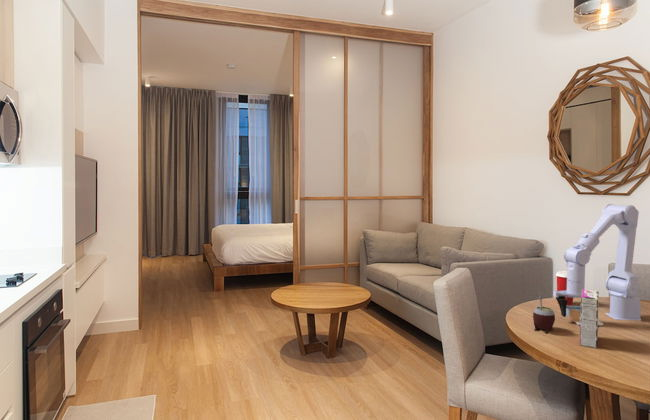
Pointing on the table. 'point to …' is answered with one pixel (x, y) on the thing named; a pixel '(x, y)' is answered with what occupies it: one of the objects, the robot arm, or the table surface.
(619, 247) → the robot arm
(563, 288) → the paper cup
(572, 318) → the lid
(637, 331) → the table surface
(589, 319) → the candy bar box
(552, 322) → the mate gourd
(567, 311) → the tub
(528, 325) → the table surface
